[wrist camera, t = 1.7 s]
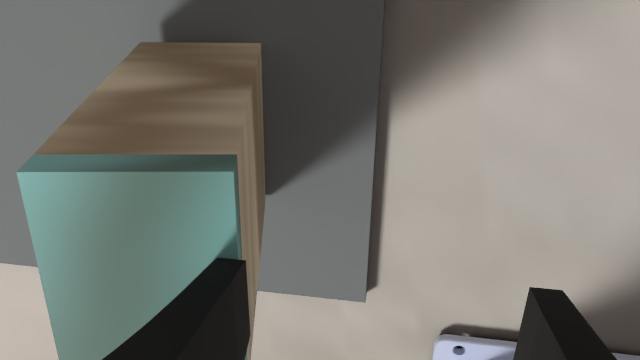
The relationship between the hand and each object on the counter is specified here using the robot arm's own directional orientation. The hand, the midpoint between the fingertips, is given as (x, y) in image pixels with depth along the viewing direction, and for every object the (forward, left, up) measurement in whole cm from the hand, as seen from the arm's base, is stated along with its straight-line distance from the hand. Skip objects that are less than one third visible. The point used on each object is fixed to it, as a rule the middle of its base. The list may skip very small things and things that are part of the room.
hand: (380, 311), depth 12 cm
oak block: (+7, 0, -9) cm, 12 cm away
